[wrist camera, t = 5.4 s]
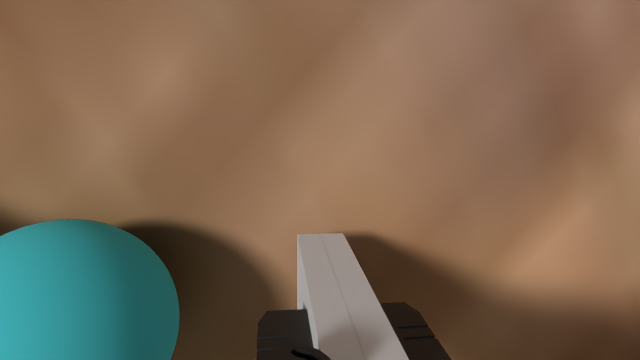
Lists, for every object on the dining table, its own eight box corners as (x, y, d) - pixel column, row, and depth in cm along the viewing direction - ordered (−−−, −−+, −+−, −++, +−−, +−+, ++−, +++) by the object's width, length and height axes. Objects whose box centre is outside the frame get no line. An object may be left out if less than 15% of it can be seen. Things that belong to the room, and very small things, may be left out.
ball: (-219, 342, 6) (-69, 213, 12) (-84, 579, 8) (-7, 377, 14) (174, 251, 9) (153, 177, 14) (209, 452, 11) (179, 322, 16)
